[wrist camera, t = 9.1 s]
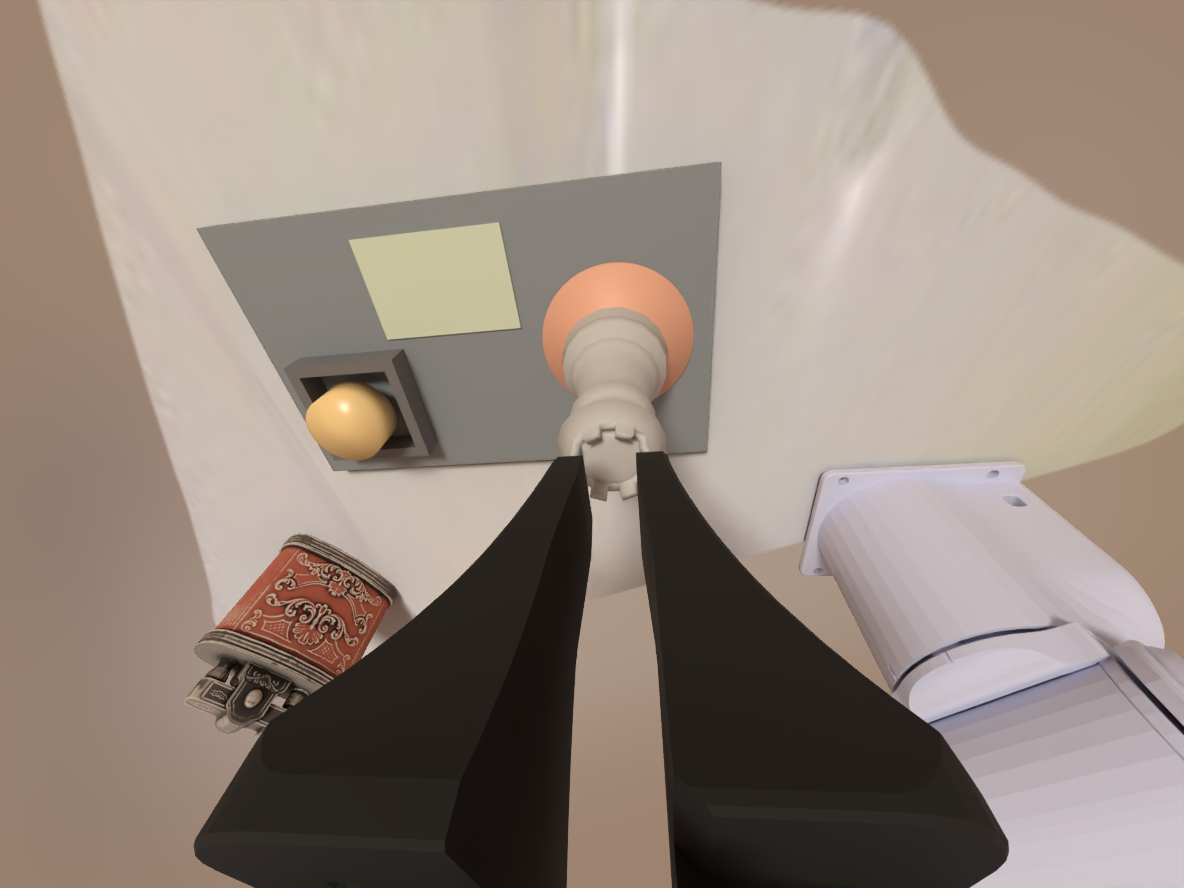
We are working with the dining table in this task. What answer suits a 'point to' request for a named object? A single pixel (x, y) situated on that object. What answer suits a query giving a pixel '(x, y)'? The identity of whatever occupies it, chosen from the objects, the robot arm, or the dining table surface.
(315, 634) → the lighter
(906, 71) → the dining table surface
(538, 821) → the robot arm
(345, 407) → the button
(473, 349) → the grey board
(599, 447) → the rook chess piece
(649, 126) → the dining table surface
